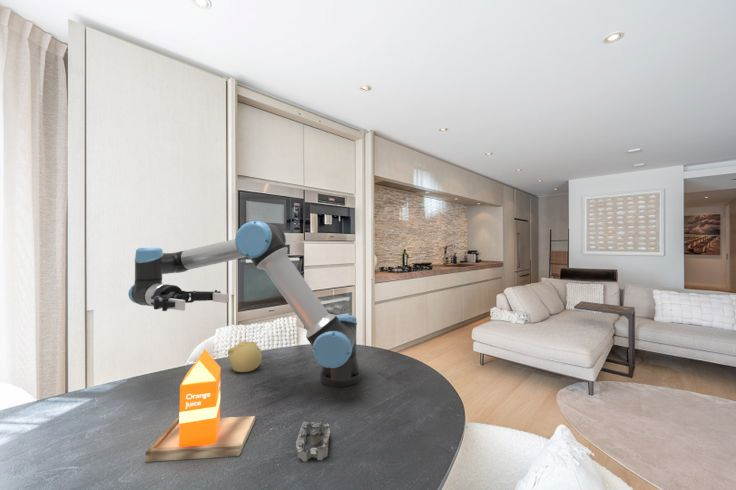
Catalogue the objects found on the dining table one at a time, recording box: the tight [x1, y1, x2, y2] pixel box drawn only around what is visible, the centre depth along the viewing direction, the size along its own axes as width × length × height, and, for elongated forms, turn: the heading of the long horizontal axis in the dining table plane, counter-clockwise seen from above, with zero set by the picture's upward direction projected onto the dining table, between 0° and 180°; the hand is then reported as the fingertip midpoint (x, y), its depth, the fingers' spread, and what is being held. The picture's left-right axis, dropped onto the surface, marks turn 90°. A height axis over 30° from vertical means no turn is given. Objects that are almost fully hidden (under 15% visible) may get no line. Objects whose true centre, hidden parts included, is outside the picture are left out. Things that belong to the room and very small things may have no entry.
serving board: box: [145, 415, 256, 463], centre depth 76 cm, size 20×14×2 cm
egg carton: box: [295, 420, 331, 462], centre depth 73 cm, size 11×8×4 cm
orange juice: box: [178, 348, 222, 447], centre depth 75 cm, size 8×9×20 cm
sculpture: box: [227, 341, 263, 373], centre depth 120 cm, size 12×12×11 cm
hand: (207, 301), depth 89 cm, fingers open, 13 cm apart
